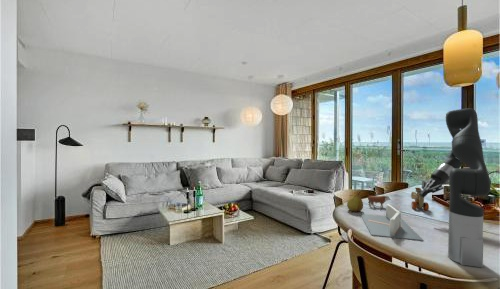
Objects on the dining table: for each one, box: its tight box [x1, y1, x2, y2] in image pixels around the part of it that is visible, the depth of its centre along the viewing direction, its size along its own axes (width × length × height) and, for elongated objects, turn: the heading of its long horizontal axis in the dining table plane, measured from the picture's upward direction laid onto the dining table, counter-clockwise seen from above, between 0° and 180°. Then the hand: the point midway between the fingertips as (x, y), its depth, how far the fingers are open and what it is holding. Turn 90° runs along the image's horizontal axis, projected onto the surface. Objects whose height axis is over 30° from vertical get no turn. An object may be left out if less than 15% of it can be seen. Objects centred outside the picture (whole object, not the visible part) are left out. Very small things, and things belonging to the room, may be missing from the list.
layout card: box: [359, 213, 425, 242], centre depth 122 cm, size 32×20×1 cm, turn 164°
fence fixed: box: [390, 211, 402, 236], centre depth 114 cm, size 16×2×8 cm, turn 139°
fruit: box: [346, 191, 364, 213], centre depth 148 cm, size 9×9×12 cm
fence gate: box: [385, 203, 400, 219], centre depth 128 cm, size 14×2×7 cm, turn 169°
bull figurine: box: [367, 194, 391, 208], centre depth 157 cm, size 4×13×8 cm, turn 78°
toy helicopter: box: [410, 187, 430, 211], centre depth 157 cm, size 8×21×14 cm, turn 159°
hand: (421, 196), depth 132 cm, fingers closed
